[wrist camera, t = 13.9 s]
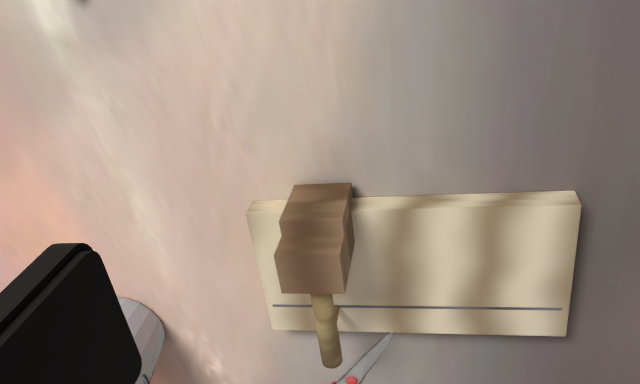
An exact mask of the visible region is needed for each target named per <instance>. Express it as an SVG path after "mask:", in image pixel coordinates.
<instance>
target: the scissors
mask: <svg viewBox="0 0 640 384" xmlns="http://www.w3.org/2000/svg"><path fill="white" fill-rule="evenodd" d="M392 334H393V333H392V332H389V333H388V334H387V335H386V336H385V337H383V338H382V339H381V340H380V341H379V342H378V343H377V344H376V345H374V346H373V347H372V348H371V349H370V350H369V351H368V352H367V353H366V354H365V355H364V356H363V357H362V358H361V359H360V360H359V361H358V362H357V363H356V364H355V365H354V367H352V368H351V369H350V370H349V371H348V372H347V373H346V374H345V375H343V377H342V378H341V379H339V381H337V382H333V383H332V384H359V383H360V382H361V380H362V379H363V377H364V375H365V374H366V373H367V372H368V370H369V369H370V368H371V367H372V365H373V364H374V363H375V362H376V360H377V359H378V358H379V356H380V355H381V354H382V352H383V351H384V350H385V348H386V346H387V345H388V343H389V341H390V339H391V337H392Z"/></svg>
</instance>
